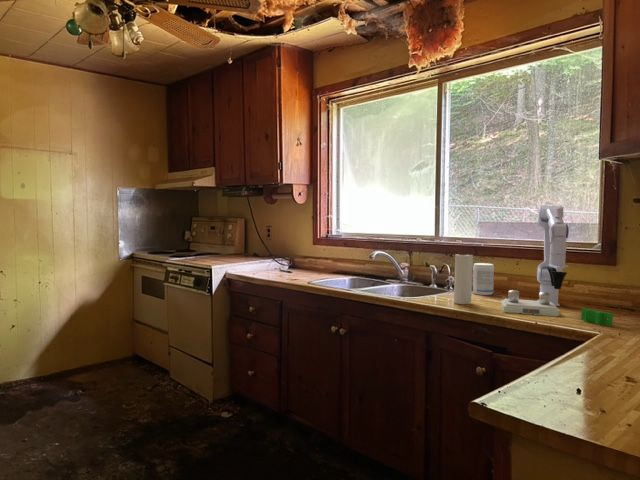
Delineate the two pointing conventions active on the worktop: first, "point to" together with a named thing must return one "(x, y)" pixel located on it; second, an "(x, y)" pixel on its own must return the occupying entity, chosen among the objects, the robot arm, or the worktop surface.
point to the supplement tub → (483, 278)
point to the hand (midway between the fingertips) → (555, 287)
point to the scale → (529, 308)
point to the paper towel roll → (463, 278)
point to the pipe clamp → (596, 317)
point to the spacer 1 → (513, 296)
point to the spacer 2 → (544, 298)
